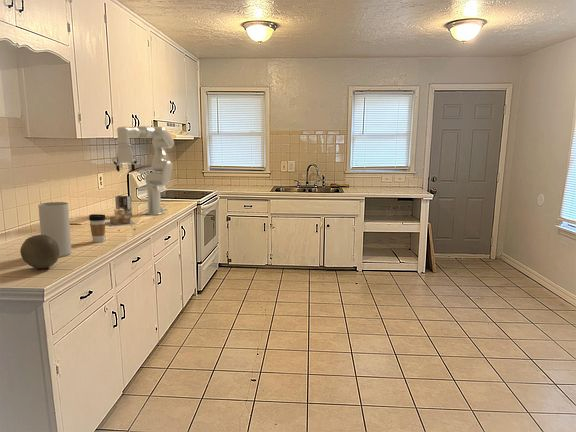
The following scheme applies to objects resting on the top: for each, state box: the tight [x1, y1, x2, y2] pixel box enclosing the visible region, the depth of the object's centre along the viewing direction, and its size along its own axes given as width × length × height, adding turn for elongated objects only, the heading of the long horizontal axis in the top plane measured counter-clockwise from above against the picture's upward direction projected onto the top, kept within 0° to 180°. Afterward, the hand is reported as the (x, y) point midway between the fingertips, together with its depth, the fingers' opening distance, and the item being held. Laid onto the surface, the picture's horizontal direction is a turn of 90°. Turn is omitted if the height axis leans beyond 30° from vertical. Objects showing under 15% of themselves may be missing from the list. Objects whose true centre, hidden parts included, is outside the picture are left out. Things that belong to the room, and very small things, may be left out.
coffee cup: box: [88, 213, 107, 244], centre depth 231 cm, size 8×8×15 cm
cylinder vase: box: [37, 201, 72, 258], centre depth 202 cm, size 12×12×25 cm
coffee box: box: [114, 195, 133, 218], centre depth 298 cm, size 9×6×16 cm
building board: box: [105, 219, 137, 228], centre depth 275 cm, size 17×17×2 cm
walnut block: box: [109, 215, 131, 225], centre depth 275 cm, size 10×10×4 cm
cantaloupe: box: [19, 234, 60, 270], centre depth 180 cm, size 14×14×15 cm
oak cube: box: [113, 208, 125, 218], centre depth 275 cm, size 5×5×5 cm
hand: (125, 171), depth 286 cm, fingers open, 9 cm apart
